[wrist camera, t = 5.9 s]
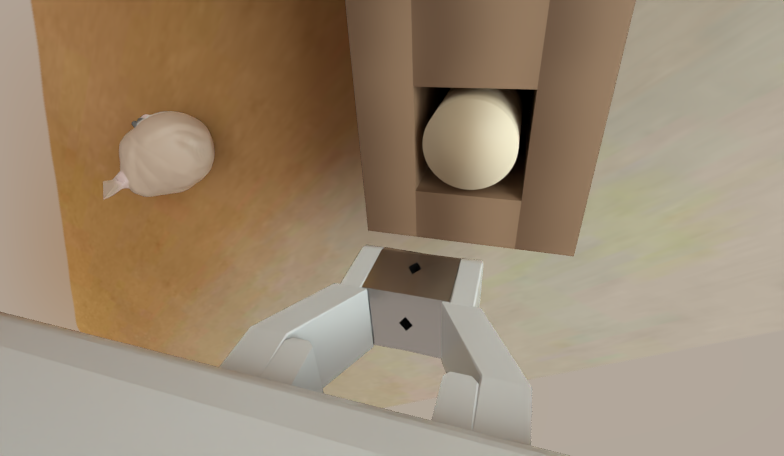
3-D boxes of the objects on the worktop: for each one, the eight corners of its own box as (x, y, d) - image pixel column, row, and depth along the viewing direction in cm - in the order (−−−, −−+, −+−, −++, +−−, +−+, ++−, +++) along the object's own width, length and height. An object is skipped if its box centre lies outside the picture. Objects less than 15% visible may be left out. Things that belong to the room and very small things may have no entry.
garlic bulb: (152, 100, 33) (61, 134, 27) (216, 100, 32) (135, 137, 25) (180, 173, 37) (106, 218, 31) (240, 177, 35) (174, 226, 29)
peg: (529, 54, 23) (524, 101, 15) (520, 124, 25) (512, 193, 18) (457, 54, 24) (421, 98, 16) (455, 121, 26) (422, 185, 19)
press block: (657, -315, 16) (780, -595, 8) (563, 165, 26) (573, 256, 19) (405, -261, 18) (302, -426, 10) (414, 155, 29) (368, 230, 21)
